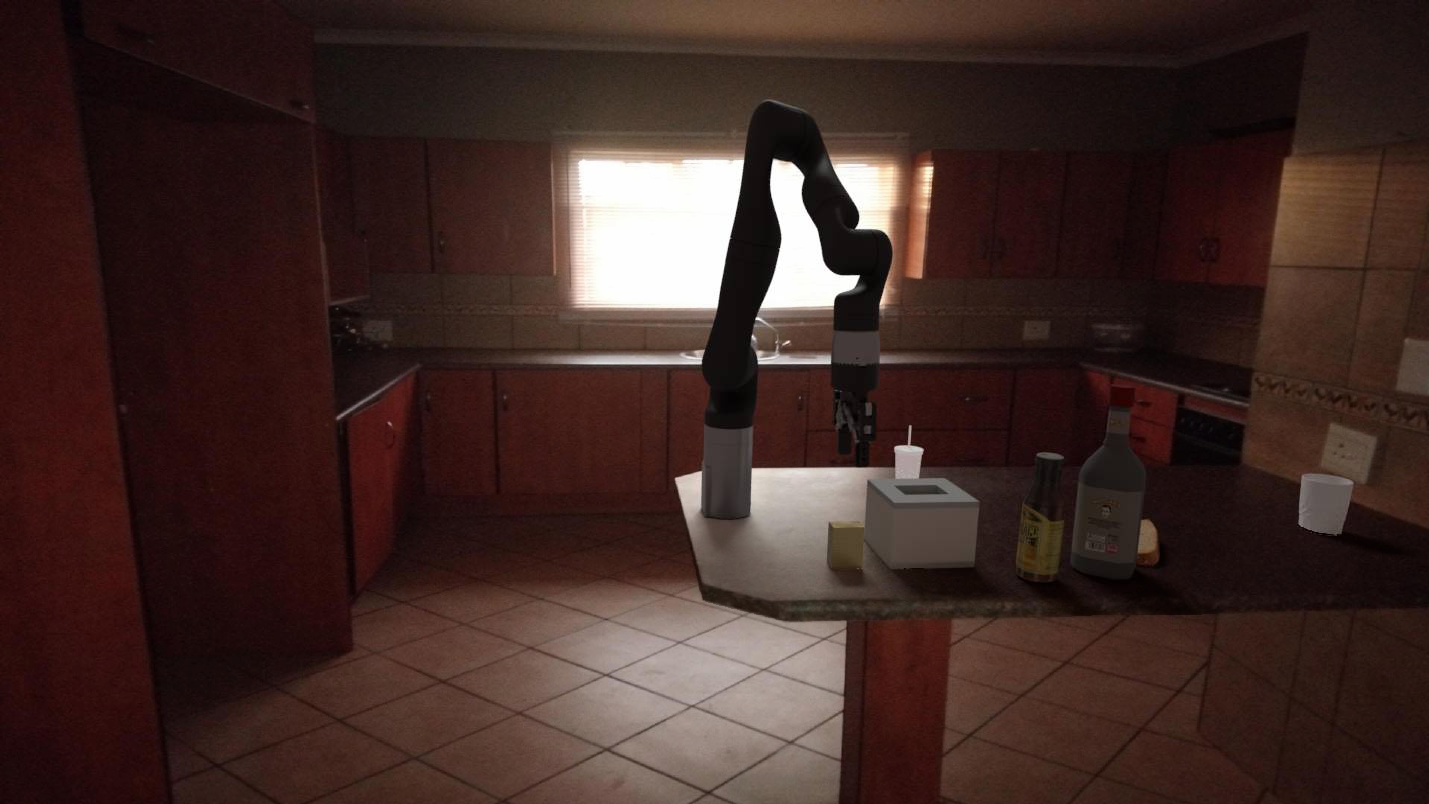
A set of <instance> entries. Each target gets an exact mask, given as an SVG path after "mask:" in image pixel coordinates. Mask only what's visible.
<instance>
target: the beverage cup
mask: <svg viewBox="0 0 1429 804" xmlns="http://www.w3.org/2000/svg"><path fill="white" fill-rule="evenodd" d="M911 438H912V425H910V424H909V426H908V438H907V439H908V440H907V445H906V444H905V445H896V446H894V451H893V452H894V453H895V479H918V478H920V472H921V464H922V463H921V462H922V456H923V454H924V448H922V447H921V446H920V447H919V446H916V445H911Z"/></svg>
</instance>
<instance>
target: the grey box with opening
mask: <svg viewBox="0 0 1429 804" xmlns="http://www.w3.org/2000/svg"><path fill="white" fill-rule="evenodd" d="M866 483H867V484H866V497H865V498H866V500H865V515H864V517H865V518H864V542H865V543H866V544H867V545H868V546H869V547H870V548H871V549H872V550H873V551H874V553H875V554H876V555H877V556H878V557H879V558H880V560H881V561H882V562H884V564H885V566H887V567H888V568H889V570H912V569H911V568H924V569H953V568H955V569H956V568H975V560H976V547H977V536H978V523H979V511H980V501H979V500H978V499H976V498H975V497H974V496H972V495H971V494H969V493H967V492H966V490H965V491H964V490H963V489H961V488H960V487H959V486H957V485H956V484H954V483H952V481H949V480H948V479H946V478H945V477H938V478H937V477H934V478H933V477H932V478H931V477H930V478H929V477H926V478H925V477H923V478H920V477H919V478H918V479H896V478H867V481H866ZM898 568H899V569H898ZM904 568H906V569H904ZM909 568H910V569H909Z"/></svg>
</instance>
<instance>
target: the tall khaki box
mask: <svg viewBox="0 0 1429 804" xmlns="http://www.w3.org/2000/svg"><path fill="white" fill-rule="evenodd" d="M827 528H828V529H827V549H826V550H827V551H826V564H827V566H828V565H829V566H828V567H829V569H830V568H831V569H830V570H831V571H840V570H839V569H852V570H862V569H863V562H864V561H863V559H864V542H865V540H864V531H865V525H863V524H862V523H861V521H859V520H857V521H856V520H852V521H850V520H849V521H848V520H846V521H844V520H843V521H828V527H827ZM857 568H859V569H857ZM861 568H862V569H861ZM837 569H838V570H837Z"/></svg>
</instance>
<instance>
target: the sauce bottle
mask: <svg viewBox="0 0 1429 804" xmlns="http://www.w3.org/2000/svg"><path fill="white" fill-rule="evenodd" d="M1034 464H1035V472H1034V478H1033V482H1032V483H1031V486H1030V487H1029V490H1028V492H1027V493H1026V495H1025V498H1024V499H1023V502H1022V507H1021V515H1020V524H1019V533H1018V542H1017V549H1016V550H1017V551H1016V558H1015V564H1016V566H1015V567H1016V575H1018V577H1020V578H1022V579H1024V580H1025V581H1028V582H1031V583H1039V584H1044V583H1048V584H1049V583H1053V582H1054V581H1056V580H1057V573H1058V571H1059V565H1060V556H1061V550H1062V543H1063V542H1062V541H1063V534H1064V526H1065V519H1066V518H1065V517H1066V516H1065V512H1066V505H1067V501H1066V498H1065V494H1064V492H1063V491H1062V489H1061V476H1062V470H1063V467H1064V465H1065V457H1064V456H1063V455H1061V454H1059V453H1053V452H1038V453H1036V455H1035V459H1034Z"/></svg>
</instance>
